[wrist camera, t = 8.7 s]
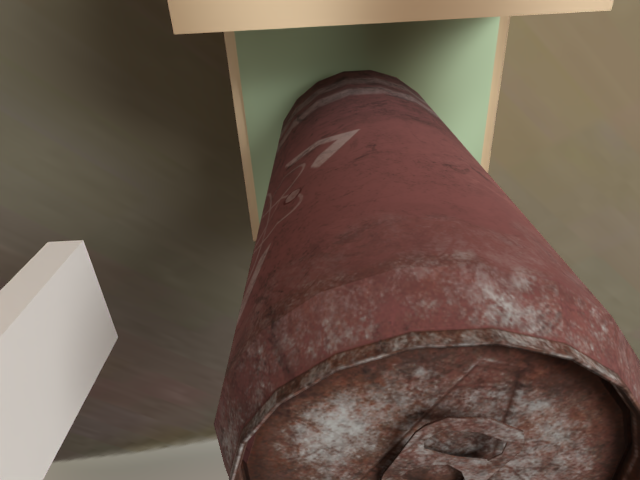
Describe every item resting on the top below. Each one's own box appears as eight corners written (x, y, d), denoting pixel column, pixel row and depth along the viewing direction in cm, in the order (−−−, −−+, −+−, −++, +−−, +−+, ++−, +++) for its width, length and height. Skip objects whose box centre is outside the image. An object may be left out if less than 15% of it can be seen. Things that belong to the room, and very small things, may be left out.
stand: (266, 187, 25) (230, 332, 15) (217, -234, 17) (57, -573, 7) (449, 178, 25) (542, 318, 15) (492, -253, 17) (780, -632, 6)
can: (313, 240, 20) (309, 644, 8) (254, 102, 17) (101, 413, 5) (450, 196, 19) (684, 583, 7) (412, 41, 16) (712, 245, 4)
